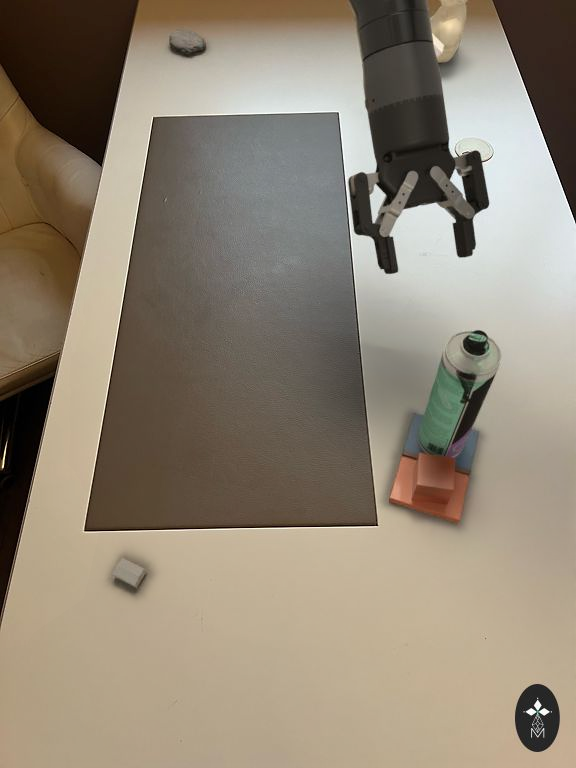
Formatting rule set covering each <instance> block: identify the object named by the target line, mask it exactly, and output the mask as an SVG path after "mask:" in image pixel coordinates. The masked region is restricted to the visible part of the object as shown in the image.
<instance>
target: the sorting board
mask: <svg viewBox="0 0 576 768" xmlns="http://www.w3.org/2000/svg"><path fill="white" fill-rule="evenodd" d="M412 415H413V416H412V418H411V423H410V426H409V428H408V429H409V430H408V432H407V437H406V440H405V442H404V446H403V450H402V454H401V457H400V460H399V464H398V468H397V470H396V474H395V479H394V482H393V485H392V489H391V492H390V496H389V499H388V502H390V503H394V504H397V505H399V506H403V507H405V508H408V509H412V510H414V511H418V512H422V513H424V514H428V515H431V516H434V517H438V518H440V519H443V520H447V521H451V522H453V523H457V524H458V523H459V522H460V520H461V516H462V512H463V508H464V503H465V498H466V495H467V494H466V493H467V488H468V485H469V480H470V476H471V472H472V466H473V462H474V461H473V460H474V457H475V451H476V449H477V448H476V447H477V442H478V439H479V433H480V431H479V430H476V429H473V428H472V429H471V431H470V434H469V436H468V438H467V440H466V443H465V445H464V447H463V449H462V451H461V452H460V453H459V455H458V456H456V457H455V481H454V492H453V494H452V496H451V498H450V500H449V502H448V504H447V505H445V504H438V503H432V502H425V501H418V500H412V486H413V470H414V466H415V463H416V460H417V457H418V454H419V453H424V452H423V450H422V449H421V447H420V446H419V443H418V432H419V429H420V426H421V423H422V419H423V416H424V414H420V413H416V412H414V413H413V414H412Z"/></svg>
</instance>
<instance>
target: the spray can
mask: <svg viewBox="0 0 576 768" xmlns="http://www.w3.org/2000/svg"><path fill="white" fill-rule="evenodd" d="M501 360H502V353H501V349H500V346H499V345H498V344H497V342H496V341H495V340H494V339H493V338H492V337H490V336H489V335H488V334H487V333H486V332H485V331H483V330H481V329H476V330H465V331H460V332H457V333H454V334H453V335H452V336H451V337H450V338H449V339H448V341H447V342H446V344H445V345H444V348H443V351H442V354H441V357H440V361H439V364H438V368H437V371H436V374H435V377H434V380H433V384H432V387H431V390H430V393H429V397H428V400H427V404H426V406H425V410H424V413H423V415H424V416H423V419H422V423H421V426H420V429H419V432H418V443H419V446H420V447H421V449H422V450H423V452H424V453H426V454H433V455H440V456H447V457H454V458H455V457H456V456H458V455H459V453H460V452H461V451H462V449H463V447H464V445H465V443H466V440H467V438H468V436H469V434H470V431H471V429H473V426H474V424H475V422H476V419H477V417H478V416H479V413H480V411H481V408H482V406H483V404H484V402H485V400H486V397H487V395H488V393H489V392H490V391H489V390H490V388H491V386H492V384H493V382H494V379H495V378H496V375H497V373H498V370H499V368H500V365H501Z"/></svg>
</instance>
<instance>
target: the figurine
mask: <svg viewBox="0 0 576 768" xmlns="http://www.w3.org/2000/svg"><path fill="white" fill-rule="evenodd" d="M439 1H440V4H441V5H440V7H438V9H437V10H436V11H435V13H434V14H433V15H432V16H430V22H431V29H432V34H433V35H434V36H435V37H436V38H437V39H438V40H439V41H440V42H441V43H442V44H443V45H444V47H443V51H442V53H441V54H440V55H439V56H438V57H437V60H438V63H447V62H449V61H450V60H451V59H452V58H453V57H454V55H455V54H456V51H458V49H459V47H460V44H461V41H462V39H463V34H464V30H465V25H466V21H467V13H468V12H467V11H468V10H467V4H466V3H467V2H468V1H469V0H439Z"/></svg>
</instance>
